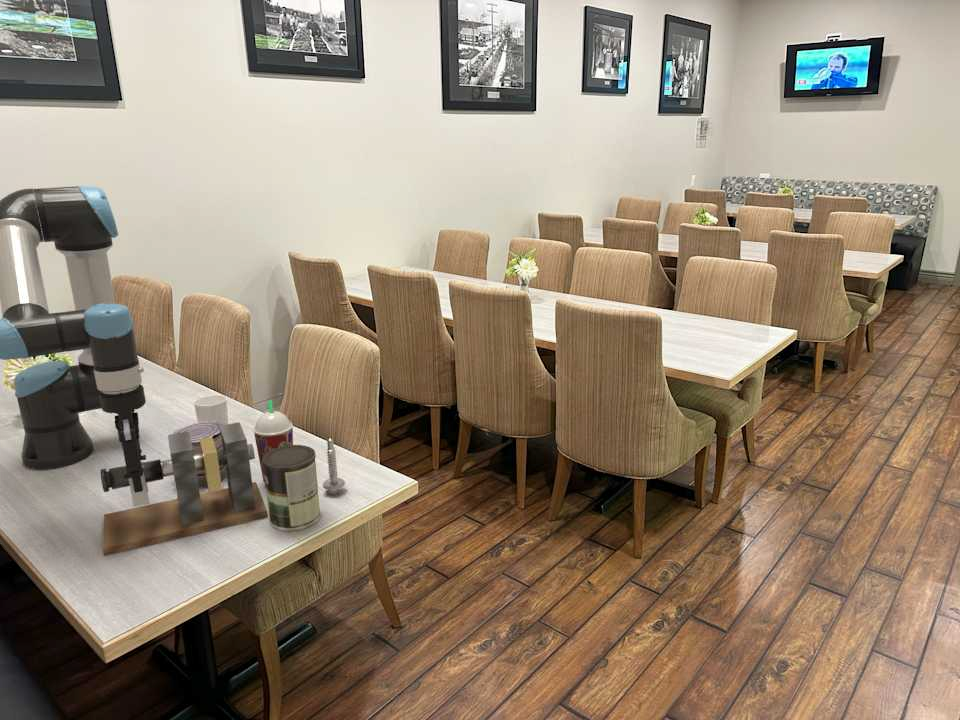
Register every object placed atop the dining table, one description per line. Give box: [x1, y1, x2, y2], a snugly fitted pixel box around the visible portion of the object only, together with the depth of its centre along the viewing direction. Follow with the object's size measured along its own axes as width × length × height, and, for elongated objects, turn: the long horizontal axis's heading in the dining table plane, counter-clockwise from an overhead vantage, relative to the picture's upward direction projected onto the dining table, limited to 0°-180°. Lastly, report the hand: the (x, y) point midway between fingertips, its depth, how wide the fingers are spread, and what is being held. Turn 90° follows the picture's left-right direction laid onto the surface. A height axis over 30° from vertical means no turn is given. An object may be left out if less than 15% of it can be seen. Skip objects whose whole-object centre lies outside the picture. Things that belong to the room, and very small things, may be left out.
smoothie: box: [252, 399, 294, 483], centre depth 152 cm, size 8×8×20 cm
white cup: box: [193, 394, 229, 425], centre depth 179 cm, size 8×8×10 cm
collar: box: [199, 437, 223, 493], centre depth 139 cm, size 2×8×8 cm, turn 26°
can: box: [172, 420, 227, 489], centre depth 156 cm, size 11×11×12 cm
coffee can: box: [262, 444, 321, 532], centre depth 138 cm, size 10×10×14 cm
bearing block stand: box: [101, 421, 269, 557], centre depth 138 cm, size 30×14×17 cm, turn 116°
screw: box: [322, 437, 346, 496], centre depth 148 cm, size 13×5×5 cm
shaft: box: [100, 443, 256, 493], centre depth 137 cm, size 28×4×4 cm, turn 116°
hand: (141, 498), depth 135 cm, fingers open, 4 cm apart
